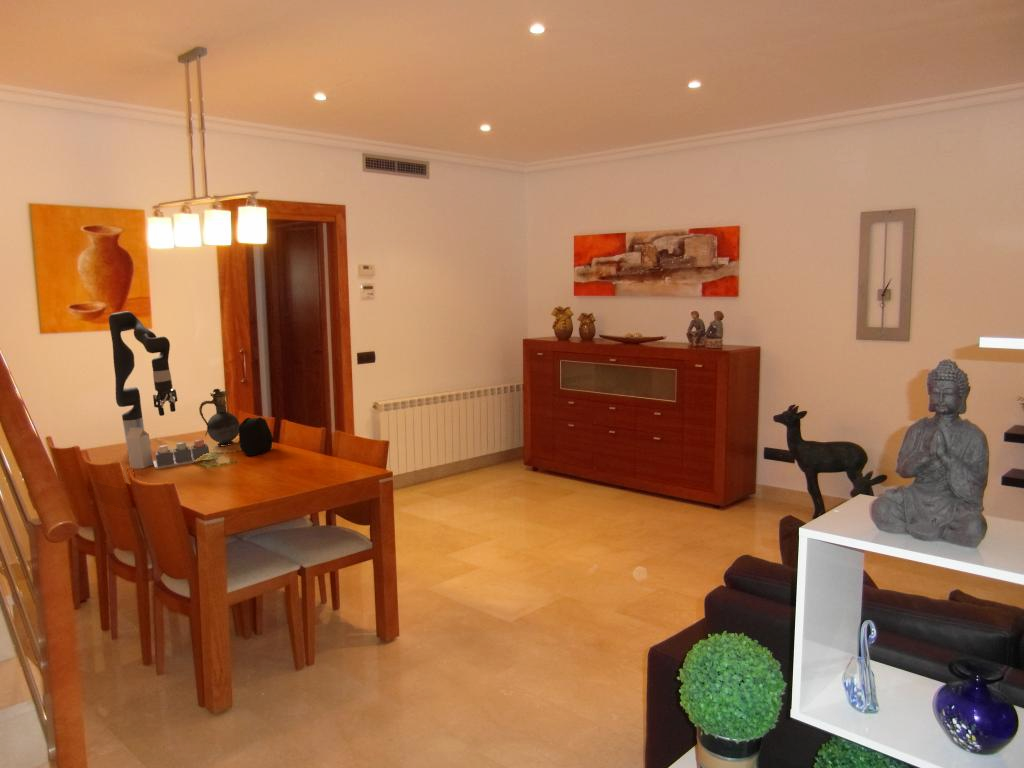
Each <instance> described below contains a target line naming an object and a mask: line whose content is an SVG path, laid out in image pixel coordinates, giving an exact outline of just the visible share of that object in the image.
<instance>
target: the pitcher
mask: <svg viewBox="0 0 1024 768" xmlns="http://www.w3.org/2000/svg"><path fill="white" fill-rule="evenodd" d="M221 390H222V389H220V388H214V389H213V390H212V392H213V393H212V392H210V393H209V394H210V397H212V400H204V401H202V402H201V403H200V404H199V407H198V411H199V415H200V416H201V419H202V420H203V422H204V423H205V425H206V432H205V434H204V437H207V434H208V436H209V437H210V439H212V440H213V441H214V442H217V446H218V445H220V446H219V447H222V446H221V445H228V444H232V443H233V444H234V443H235V441H233V440H235V439H236V438H237V437H239V426H240V424H241V423H240V421H239V419H238V418H237V416H236V415H234V414H233V413H231V412H228V411H227V402H226V397H227V394H231V393H232V392H231V391H225V390H224V391H221ZM207 404H209V405H214V406H215V412H216V413H215V414H214V415H212V416H211V417H210V418H209V419H208V421H207V419H206V418H205V417H204V414H203V411H202V410H203V407H204V406H205V405H207ZM233 444H232V445H233Z"/></svg>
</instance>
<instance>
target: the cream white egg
mask: <svg viewBox="0 0 1024 768" xmlns="http://www.w3.org/2000/svg"><path fill="white" fill-rule="evenodd" d="M157 449H158V451H159V454H162V453H168V452H169V450H170V449H169V445H168V444H163V445H159V446H157ZM158 451H157V452H158Z"/></svg>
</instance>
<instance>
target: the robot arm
mask: <svg viewBox="0 0 1024 768" xmlns="http://www.w3.org/2000/svg"><path fill="white" fill-rule="evenodd" d="M108 324H109V325H108V326H109V330H110V331H109V332H110V337H111V342H112V353H113V355H112V356H113V366H114V367H113V369H114V377H115V379H114V380H115V401H116V402H115V403H116V404H117V406H118V407H121V408H124V407H125V408H126V407H132V408H131V409H129V410H128V411H126V412H124V413H122V415H121V418H122V424H123V430H124V438H125V439H126V437H127V435H128V433H129V431H130V428H143V430H144V431H145V426H144V418H143V413H142V403H141V393H140V390H139V388H138V387H137V386H133V387H125V383H126V381H127V380H128V379H129V377H130V376H131V374H132V372H133V371H134V368H135V355H134V351H133V350H132V349H131V348H130V347H129V346H128V345H127V344H126V343H125V341H124V340H123V338H122V334H121V333H122V332H127V331H130V330H133V335H134V339H135V340H137V341H138V342H139V343H141V344H142V345H143V347H144V349H145V350H146V352H147V353H149V354H157V353H158V354H159V356H157V357H154V358H153V359H151V367H152V368H151V369H152V376H153V377H152V378H153V382H154V383H153V385H154V391H156V392H157V394H153V395H152V398H153V406H154V408H157V411H158V415H159V417H160V416H162V417H163V416H165V409H164V405H165V404H166V402H168V403H169V409H170V412H172V413H174V412H176V402H178V395H177V391H176V389H174V388H173V381H172V374H171V370H170V363H169V355H170V348H171V344H170V340H169V339H168V338H167V337H166V336H156V334H155V333H154V332H153V331H152V330H150V329H149V328H147V327H146V326H144V324H143V323H142V322H141V320H139V318H138V317H137V316H136V315H135V314H134V313H133V312H131V311H127V310H125V311H121V312H120V311H119V312H114V313H111V314H110V315H109V317H108ZM124 387H125V388H124ZM125 442H126V446H127V441H126V440H125ZM126 450H127V451H126V452H128V448H127V447H126Z"/></svg>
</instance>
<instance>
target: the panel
mask: <svg viewBox="0 0 1024 768" xmlns="http://www.w3.org/2000/svg"><path fill="white" fill-rule="evenodd" d="M186 447H187V449H186V450H180V451H177V447H175V448H172V449H171V448H170V449H169V452H168V453H162V454H159V451H155V452H154V454H155V455H154V456H155V460H153V464H152V465H153V466H154V469H155V470H161V469H165V468H171V467H172V468H173V467H178V466H183V465H184V466H185V465H189V464H194V462H195V460H196V459H197V458H199V457H200V456H202V455H203V454H206V453H209V451H210V449H209V445H208V444H207V443H204V447H198V448H195V446H194V445H191V446H186ZM195 463H196V462H195Z"/></svg>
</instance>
